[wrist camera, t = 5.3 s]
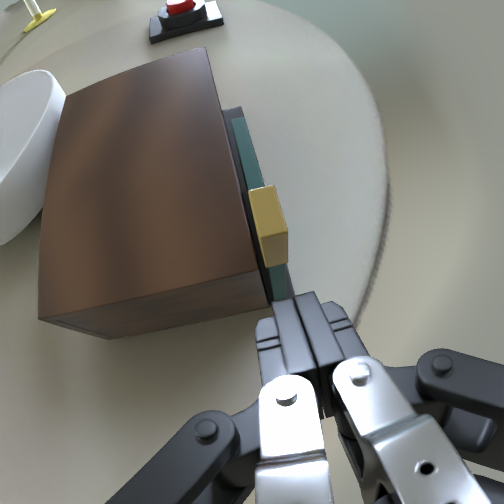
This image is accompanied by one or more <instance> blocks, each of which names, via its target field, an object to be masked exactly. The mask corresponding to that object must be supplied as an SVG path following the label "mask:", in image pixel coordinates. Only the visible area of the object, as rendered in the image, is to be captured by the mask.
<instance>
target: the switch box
mask: <svg viewBox="0 0 504 504" xmlns="http://www.w3.org/2000/svg"><path fill="white" fill-rule="evenodd" d="M193 3H194V7H193V8H192V9H190V10H187V11H185V12H182V13H178V14H169V12H168V9H167V6H164V7H163V8H162V9H161V10H160V11H159V12H158V16H157V17H154V18H151V19H150V30H149V39H150V42H151V44H153V43H156V42H159V41H162V40H166V39H169V38H172V37H176V36H179V35H183V34H186V33H190V32H194V31H198V30H202V29H206V28H210V27H214V26H219V25H223V24H224V22H223V18H222V15H221V13H220V10H219V8H218V5H217V3H216V1H213V2H209V3H205V2H204V0H193Z"/></svg>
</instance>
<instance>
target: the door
mask: <svg viewBox="0 0 504 504" xmlns="http://www.w3.org/2000/svg"><path fill="white" fill-rule="evenodd" d="M231 125H232V129H233V134H234V138H235V142H236V147H237V151H238V155H239V160H240V164H241V168H242V173H243V177H244V181H245V186H246V190H247V194H248V198H249V202H250V206H251V210H252V214H253V218H254V222H255V227H256V231H257V235H258V239H259V243H260V247H261V251H262V255H263V259H264V263H265V267H266V270H267V274H268V278H269V282H270V286H271V291H272V295H273V299H274V301H277V300H281V299H285V298H286V263H287V262H288V229H287V226H286V222H285V219H284V216H283V212H282V209H281V206H280V202H279V199H278V196H277V192H276V189H275V186H274V185H269V186H264V182H263V179H262V175H261V172H260V168H259V165H258V162H257V158H256V155H255V151H254V148H253V145H252V141H251V138H250V135H249V131H248V128H247V125H246V121H245V118H244V117H241V118H236V119H232V120H231Z"/></svg>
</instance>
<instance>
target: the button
mask: <svg viewBox="0 0 504 504" xmlns="http://www.w3.org/2000/svg"><path fill="white" fill-rule="evenodd" d="M166 6H167V9H168V12H169V14H178V13H182V12H185V11H187V10H190V9H192V8H193V7H194V3H193V0H168V1H167V2H166Z"/></svg>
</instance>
